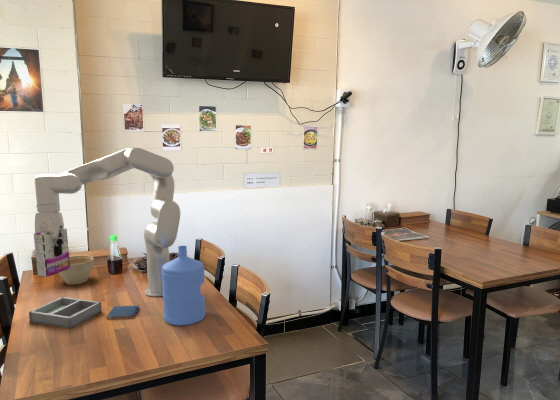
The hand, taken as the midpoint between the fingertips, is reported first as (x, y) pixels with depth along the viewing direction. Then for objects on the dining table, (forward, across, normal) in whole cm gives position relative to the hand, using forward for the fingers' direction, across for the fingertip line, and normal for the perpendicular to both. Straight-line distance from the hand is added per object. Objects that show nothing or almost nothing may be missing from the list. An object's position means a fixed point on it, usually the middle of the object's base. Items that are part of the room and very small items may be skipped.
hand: (52, 254), depth 162 cm
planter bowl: (+25, -22, +34) cm, 48 cm away
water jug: (+25, +48, +13) cm, 56 cm away
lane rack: (+24, +4, 0) cm, 25 cm away
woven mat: (+25, +24, +9) cm, 36 cm away
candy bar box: (+7, 0, 0) cm, 7 cm away
